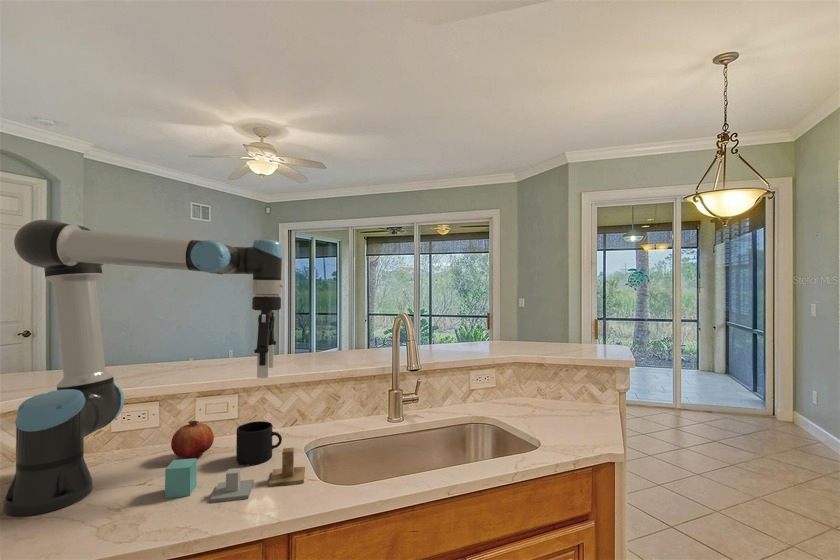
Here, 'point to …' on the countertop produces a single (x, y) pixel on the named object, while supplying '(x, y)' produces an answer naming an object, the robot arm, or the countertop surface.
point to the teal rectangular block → (180, 478)
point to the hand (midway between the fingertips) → (265, 372)
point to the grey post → (232, 487)
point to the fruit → (192, 440)
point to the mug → (255, 443)
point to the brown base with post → (287, 471)
